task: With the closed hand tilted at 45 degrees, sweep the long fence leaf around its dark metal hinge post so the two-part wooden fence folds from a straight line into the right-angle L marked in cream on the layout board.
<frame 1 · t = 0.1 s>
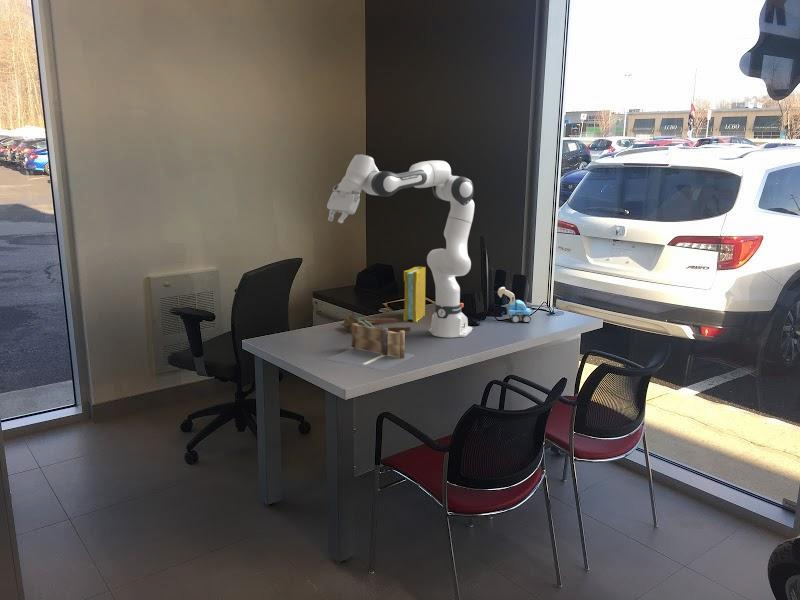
hand: (334, 221, 265), 54 cm above the table, tool tilted 30°, fingers open, 8 cm apart
book: (415, 318, 335), on the table
layout board: (371, 358, 267), on the table
fence leaf: (366, 337, 274), point 6 cm above the table, hinge at 0.0°
fixed fence: (385, 354, 270), resting on layout board
toy excavator: (513, 321, 329), on the table
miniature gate: (373, 330, 313), on the table
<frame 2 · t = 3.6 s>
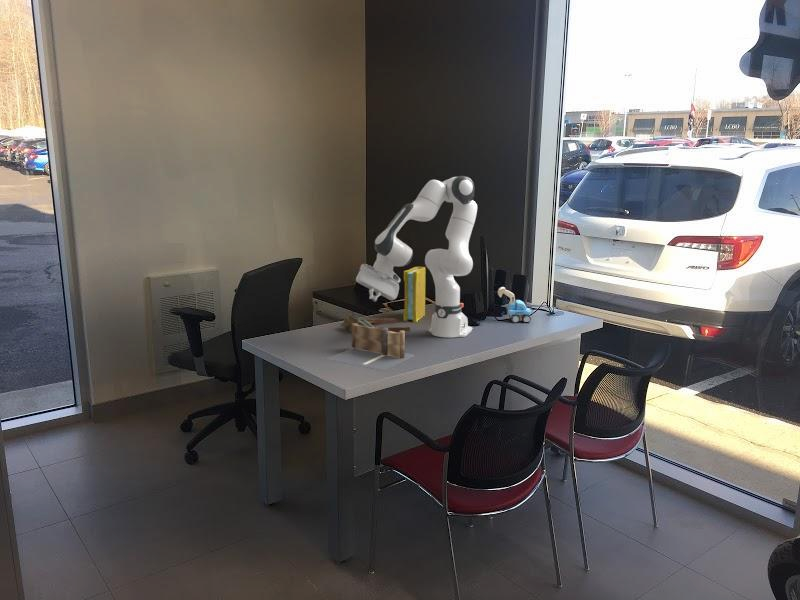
hand: (372, 299, 286), 19 cm above the table, tool tilted 40°, fingers closed
nothing on the table moved.
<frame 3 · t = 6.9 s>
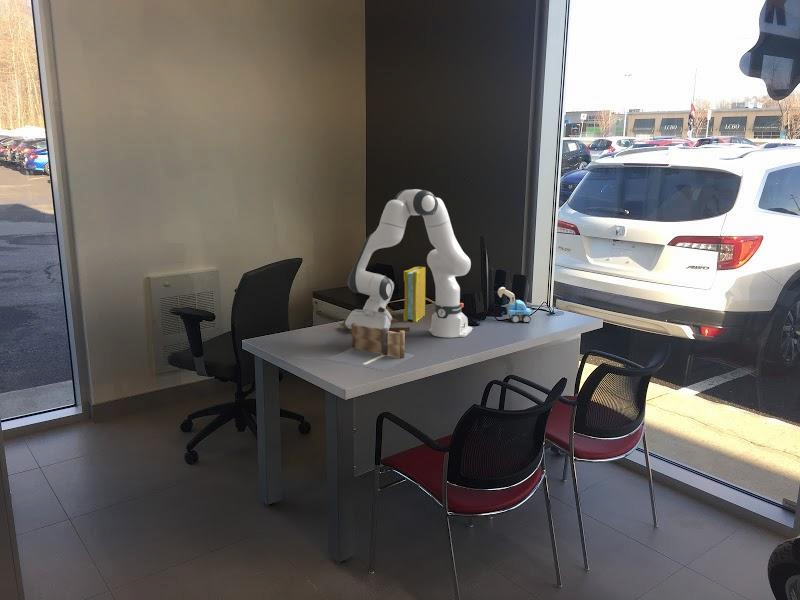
hand: (360, 338, 277), 5 cm above the table, tool tilted 45°, fingers closed, pressing on fence leaf
fence leaf: (366, 337, 273), point 6 cm above the table, hinge at 0.3°, touching gripper
everything else where it was.
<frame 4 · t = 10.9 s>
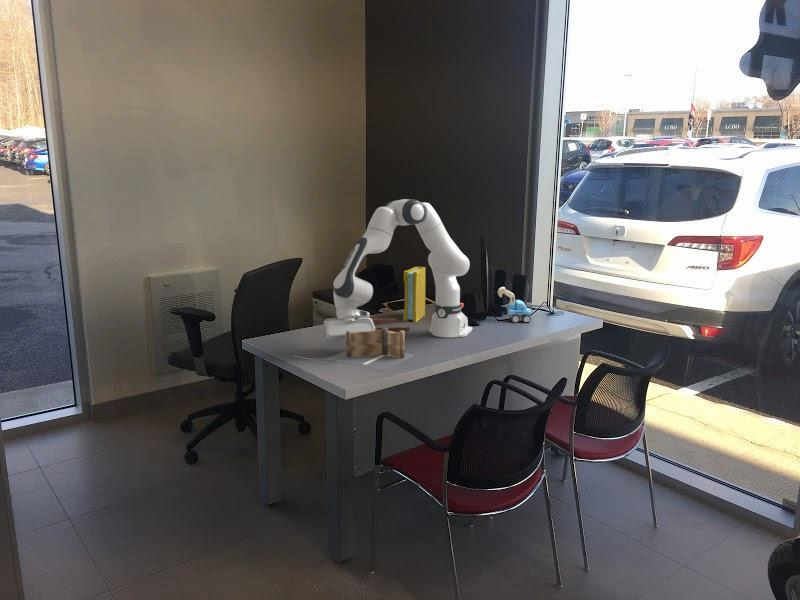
hand: (353, 346, 266), 5 cm above the table, tool tilted 45°, fingers closed, pressing on fence leaf
fence leaf: (364, 343, 266), point 6 cm above the table, hinge at 52.0°, touching gripper
everything else where it was.
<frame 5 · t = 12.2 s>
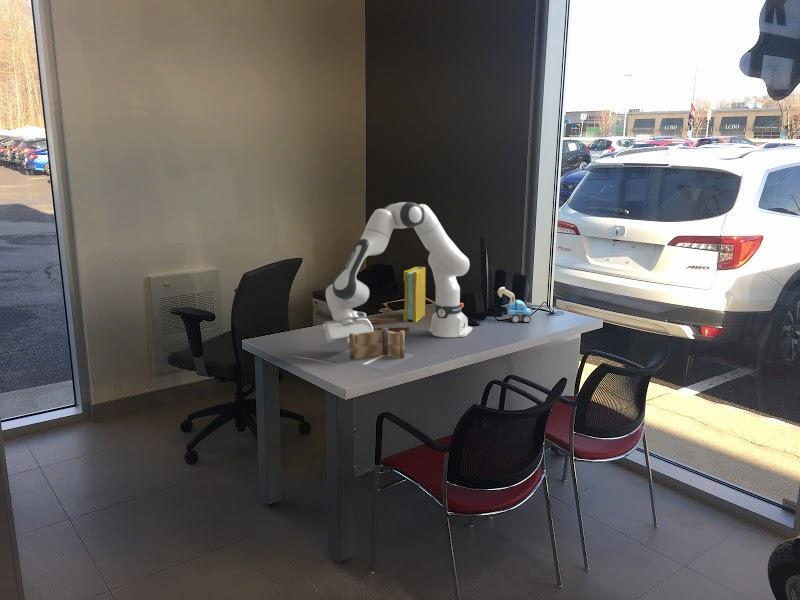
hand: (355, 348, 263), 5 cm above the table, tool tilted 45°, fingers closed, pressing on fence leaf
fence leaf: (366, 344, 264), point 6 cm above the table, hinge at 64.2°, touching gripper
everything else where it was.
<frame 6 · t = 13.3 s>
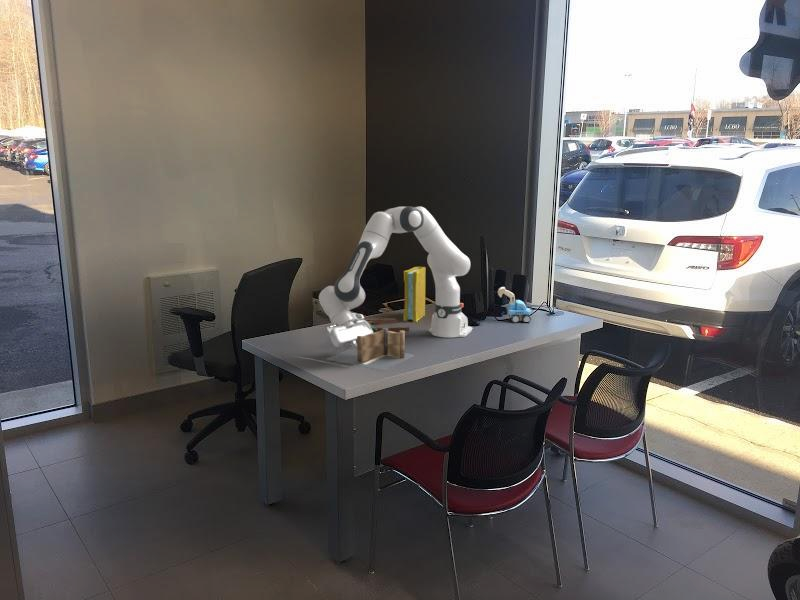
hand: (361, 350, 260), 5 cm above the table, tool tilted 45°, fingers closed, pressing on fence leaf
fence leaf: (370, 345, 262), point 6 cm above the table, hinge at 82.5°, touching gripper
everything else where it was.
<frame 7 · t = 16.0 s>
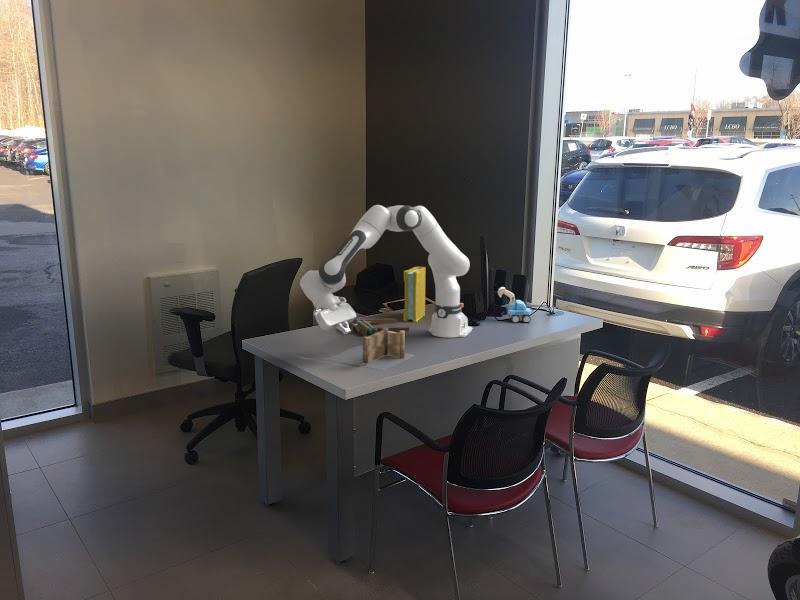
hand: (348, 332, 262), 11 cm above the table, tool tilted 45°, fingers closed
fence leaf: (373, 346, 261), point 6 cm above the table, hinge at 92.1°
everything else where it was.
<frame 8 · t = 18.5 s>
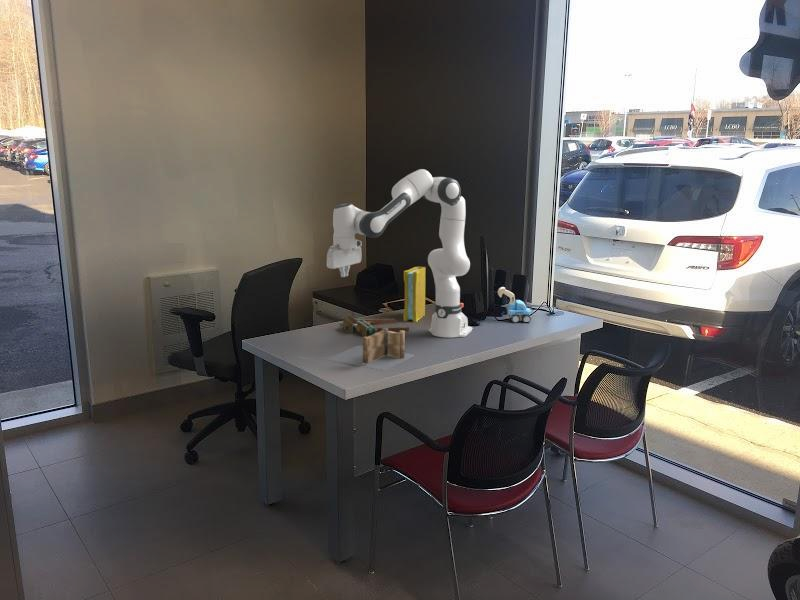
hand: (344, 276, 274), 31 cm above the table, tool pointing down, fingers closed
nothing on the table moved.
at the end: fence leaf at +92° (first picture: +0°); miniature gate moved 1.0 cm from its start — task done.
